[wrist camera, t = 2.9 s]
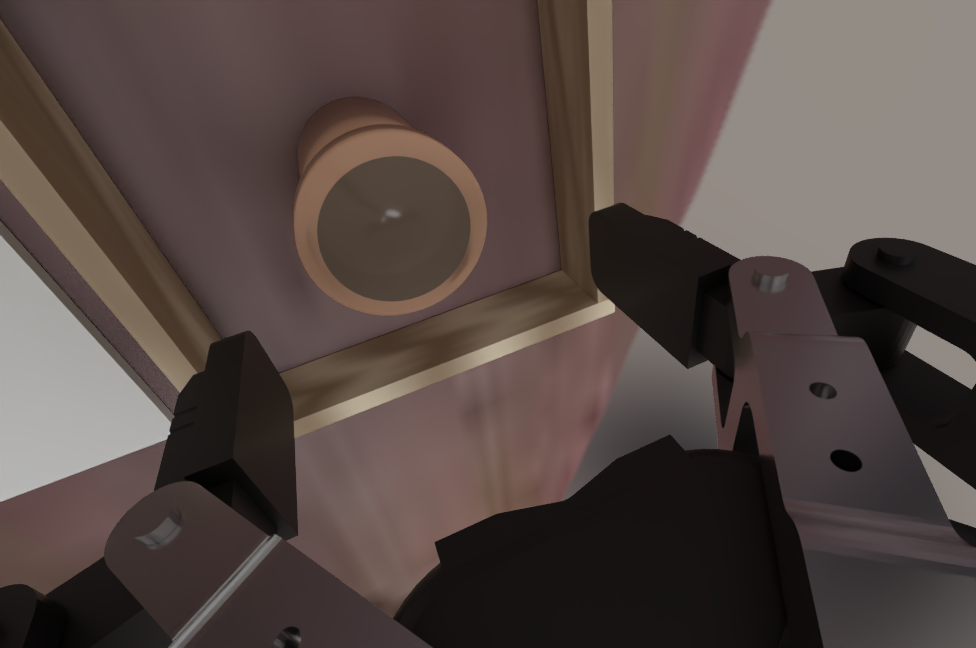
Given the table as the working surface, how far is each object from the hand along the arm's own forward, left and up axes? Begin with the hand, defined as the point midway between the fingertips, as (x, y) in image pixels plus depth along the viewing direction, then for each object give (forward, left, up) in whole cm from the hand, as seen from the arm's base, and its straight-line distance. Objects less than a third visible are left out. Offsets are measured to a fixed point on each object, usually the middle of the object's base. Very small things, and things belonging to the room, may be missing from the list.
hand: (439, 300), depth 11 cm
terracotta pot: (0, 0, -12) cm, 12 cm away
